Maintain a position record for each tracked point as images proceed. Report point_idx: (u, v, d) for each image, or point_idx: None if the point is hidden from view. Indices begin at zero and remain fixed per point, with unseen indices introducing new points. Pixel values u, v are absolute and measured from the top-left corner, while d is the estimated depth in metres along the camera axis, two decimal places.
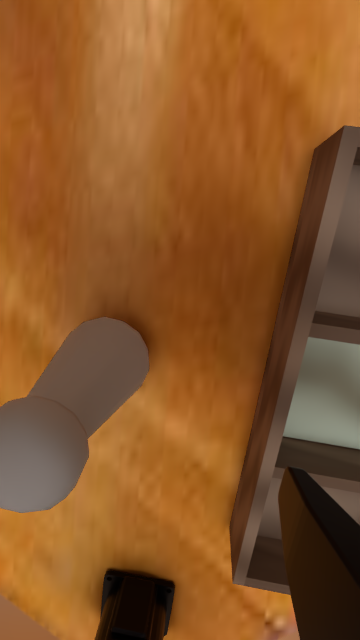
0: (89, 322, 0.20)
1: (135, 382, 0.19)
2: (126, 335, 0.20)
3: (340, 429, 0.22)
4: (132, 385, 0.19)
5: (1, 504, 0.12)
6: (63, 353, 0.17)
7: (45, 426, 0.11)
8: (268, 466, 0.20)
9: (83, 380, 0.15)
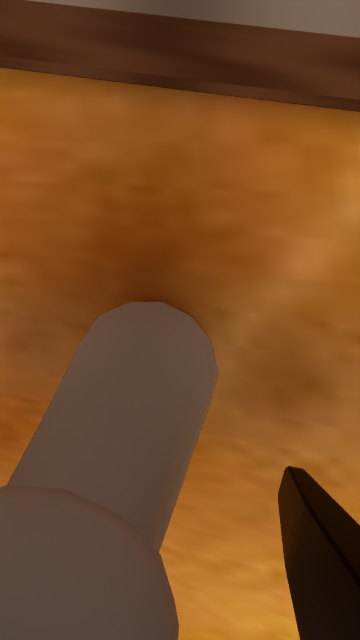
0: None
1: (144, 328, 0.10)
2: (86, 335, 0.12)
3: None
4: (141, 335, 0.10)
5: None
6: None
7: None
8: (355, 15, 0.08)
9: None
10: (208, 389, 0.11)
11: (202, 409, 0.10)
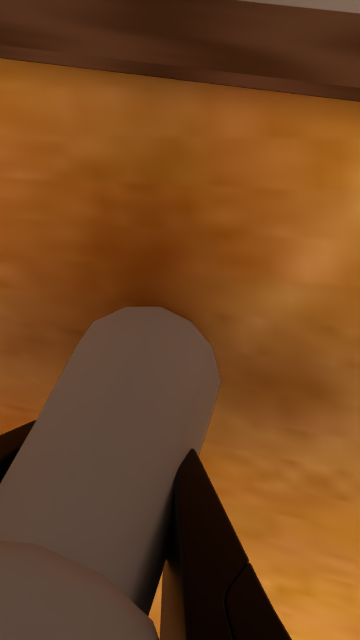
0: None
1: (141, 336, 0.10)
2: (79, 343, 0.11)
3: None
4: (137, 344, 0.09)
5: None
6: None
7: None
8: None
9: None
10: (210, 402, 0.10)
11: (203, 425, 0.09)
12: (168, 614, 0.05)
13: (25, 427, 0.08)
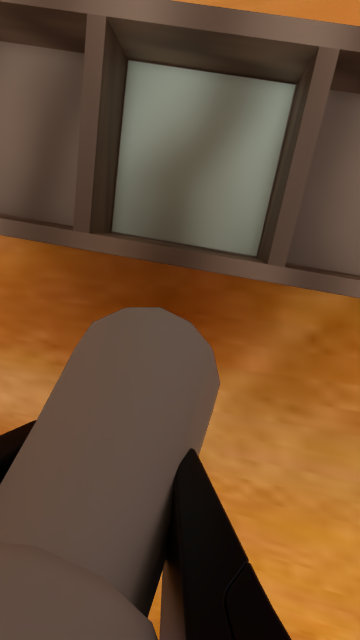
0: None
1: (140, 338, 0.10)
2: (79, 344, 0.11)
3: (252, 160, 0.17)
4: (137, 345, 0.09)
5: None
6: None
7: None
8: (266, 272, 0.15)
9: None
10: (209, 403, 0.10)
11: (203, 426, 0.09)
12: (168, 614, 0.05)
13: (25, 427, 0.08)
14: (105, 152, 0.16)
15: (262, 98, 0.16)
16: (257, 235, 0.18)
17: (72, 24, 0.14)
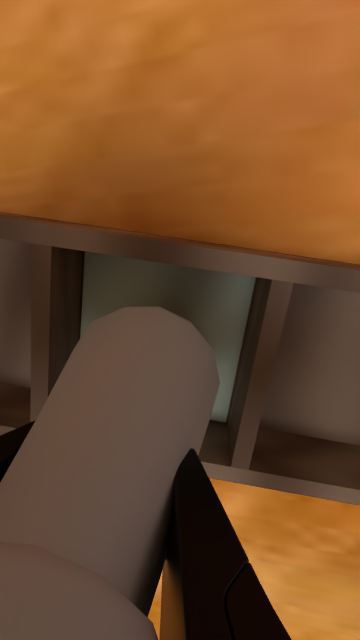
0: None
1: (140, 337, 0.10)
2: (78, 343, 0.11)
3: (216, 337, 0.16)
4: (137, 344, 0.09)
5: None
6: None
7: None
8: (230, 473, 0.15)
9: None
10: (209, 402, 0.10)
11: (203, 425, 0.09)
12: (168, 614, 0.05)
13: (25, 427, 0.08)
14: (62, 347, 0.15)
15: (224, 282, 0.16)
16: (225, 403, 0.17)
17: None
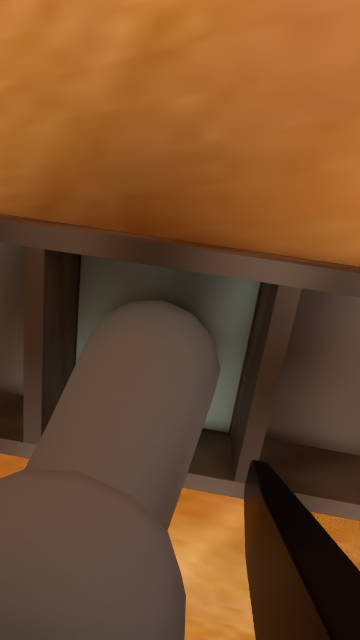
0: None
1: (149, 326, 0.11)
2: (92, 334, 0.13)
3: (219, 344, 0.16)
4: (146, 332, 0.10)
5: None
6: None
7: None
8: (233, 488, 0.14)
9: None
10: (210, 384, 0.12)
11: (205, 403, 0.11)
12: (280, 638, 0.05)
13: None
14: (57, 354, 0.14)
15: (227, 286, 0.15)
16: (228, 413, 0.17)
17: None
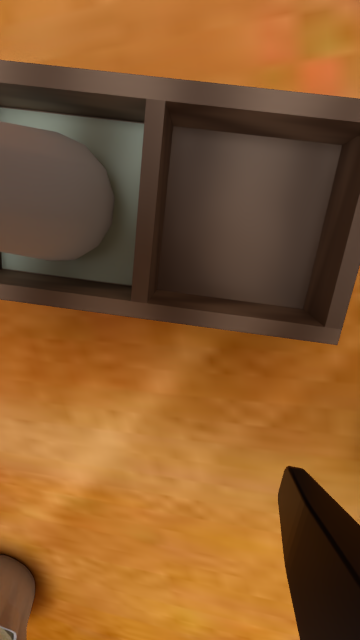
0: None
1: (30, 128, 0.13)
2: None
3: (124, 197, 0.18)
4: (24, 127, 0.12)
5: None
6: None
7: None
8: (130, 308, 0.16)
9: None
10: (91, 188, 0.13)
11: (78, 189, 0.12)
12: None
13: None
14: None
15: (126, 138, 0.17)
16: None
17: None
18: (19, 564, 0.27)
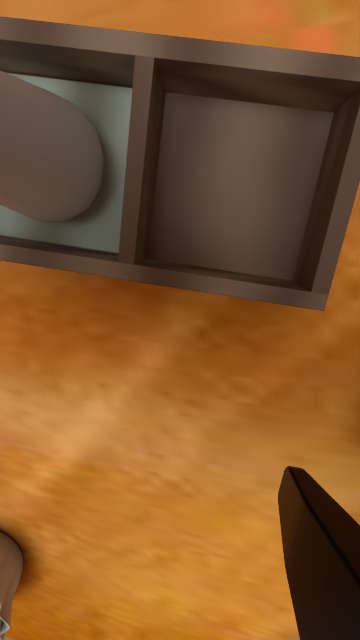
0: None
1: (19, 80, 0.13)
2: None
3: (117, 163, 0.18)
4: (13, 78, 0.12)
5: None
6: None
7: None
8: (118, 270, 0.16)
9: None
10: (79, 143, 0.14)
11: (64, 140, 0.13)
12: None
13: None
14: None
15: (119, 104, 0.17)
16: None
17: None
18: (8, 538, 0.27)
